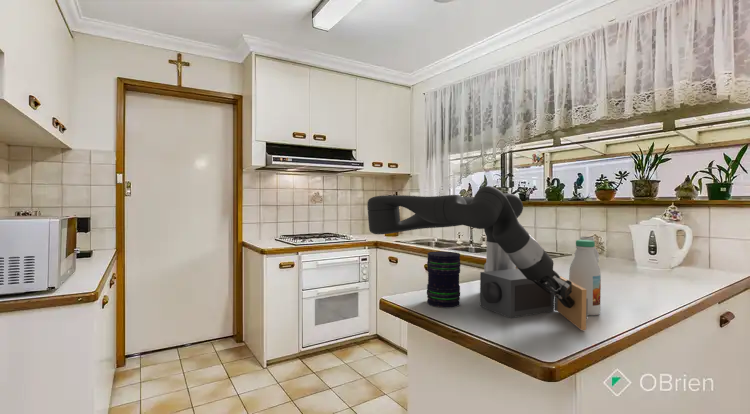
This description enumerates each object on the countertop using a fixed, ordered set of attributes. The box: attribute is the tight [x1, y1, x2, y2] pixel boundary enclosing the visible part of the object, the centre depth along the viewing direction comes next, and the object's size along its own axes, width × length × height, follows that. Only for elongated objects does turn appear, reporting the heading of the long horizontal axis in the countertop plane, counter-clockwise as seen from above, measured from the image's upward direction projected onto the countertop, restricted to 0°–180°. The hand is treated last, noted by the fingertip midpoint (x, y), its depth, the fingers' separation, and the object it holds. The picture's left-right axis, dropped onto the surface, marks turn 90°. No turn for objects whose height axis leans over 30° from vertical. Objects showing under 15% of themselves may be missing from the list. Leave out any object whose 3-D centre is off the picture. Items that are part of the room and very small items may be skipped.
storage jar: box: [426, 250, 461, 309], centre depth 113 cm, size 10×10×15 cm
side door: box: [554, 275, 589, 331], centre depth 97 cm, size 17×2×10 cm, turn 173°
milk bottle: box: [568, 239, 602, 316], centre depth 105 cm, size 8×8×20 cm
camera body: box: [479, 268, 555, 319], centre depth 108 cm, size 18×12×11 cm
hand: (570, 305), depth 94 cm, fingers closed
